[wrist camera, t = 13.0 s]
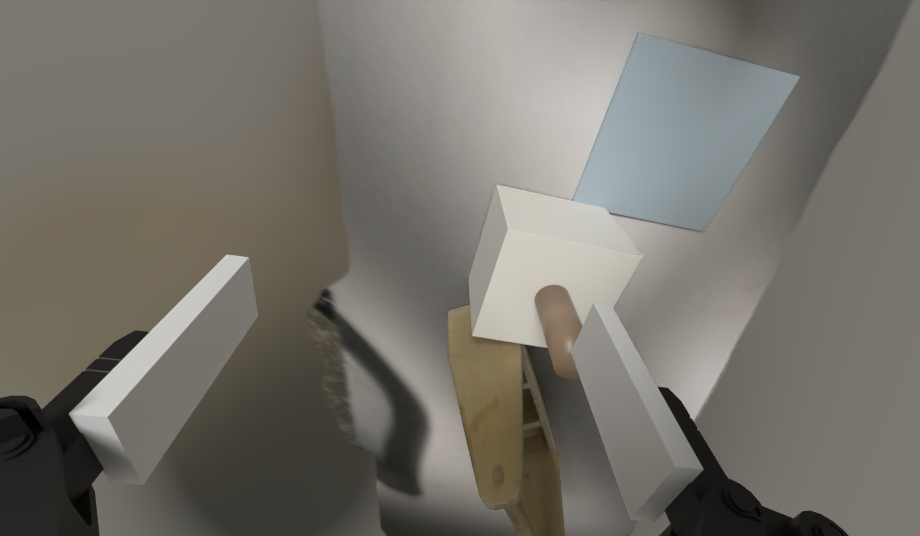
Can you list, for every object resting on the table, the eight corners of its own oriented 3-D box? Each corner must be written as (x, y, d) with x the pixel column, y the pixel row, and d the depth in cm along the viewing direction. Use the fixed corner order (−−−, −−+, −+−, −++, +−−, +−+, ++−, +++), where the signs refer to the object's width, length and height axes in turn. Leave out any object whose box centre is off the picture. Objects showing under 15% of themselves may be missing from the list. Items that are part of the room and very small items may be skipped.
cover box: (496, 184, 49) (523, 286, 30) (604, 208, 51) (692, 317, 32) (468, 278, 57) (476, 405, 38) (563, 295, 59) (613, 423, 40)
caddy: (547, 408, 73) (598, 607, 48) (494, 420, 75) (516, 619, 49) (511, 292, 59) (558, 491, 33) (445, 309, 60) (443, 513, 35)
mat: (637, 32, 41) (639, 32, 40) (797, 76, 43) (800, 76, 43) (570, 203, 51) (571, 204, 51) (703, 230, 54) (704, 231, 53)
